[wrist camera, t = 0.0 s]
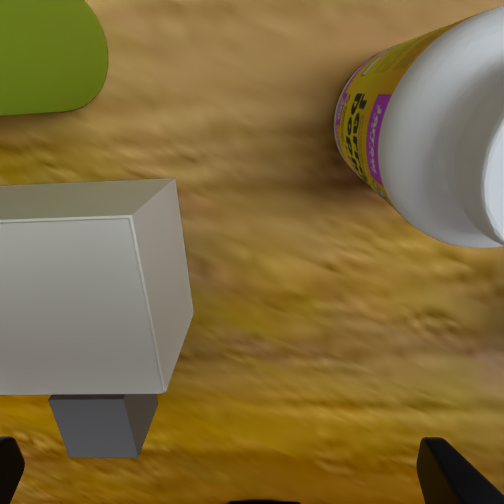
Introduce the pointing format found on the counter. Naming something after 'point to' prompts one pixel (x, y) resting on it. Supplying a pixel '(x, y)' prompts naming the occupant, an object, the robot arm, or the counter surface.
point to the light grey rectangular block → (91, 287)
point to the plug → (103, 423)
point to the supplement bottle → (433, 130)
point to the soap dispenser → (49, 56)
